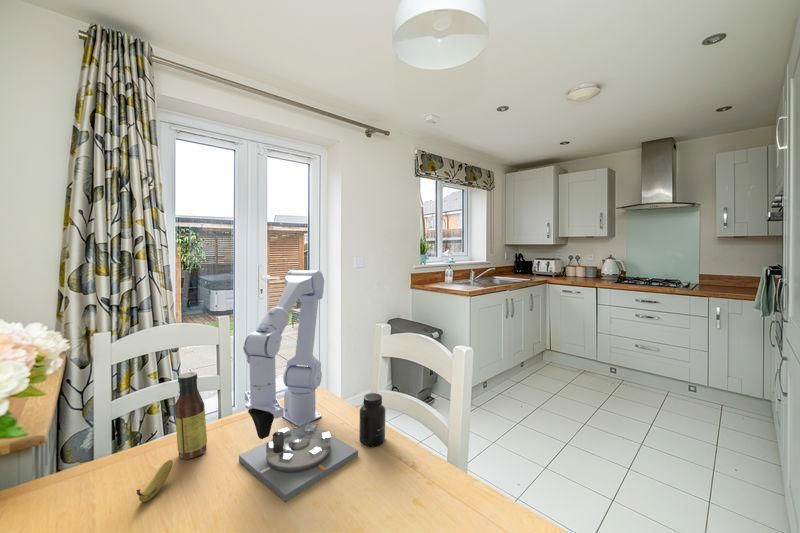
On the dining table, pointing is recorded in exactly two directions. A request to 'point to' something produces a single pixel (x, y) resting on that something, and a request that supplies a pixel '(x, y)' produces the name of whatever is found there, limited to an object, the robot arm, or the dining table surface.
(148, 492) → the banana
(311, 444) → the grey turntable disc
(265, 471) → the boss plate
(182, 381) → the sauce bottle
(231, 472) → the dining table surface
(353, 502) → the dining table surface
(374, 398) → the supplement bottle
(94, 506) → the dining table surface
